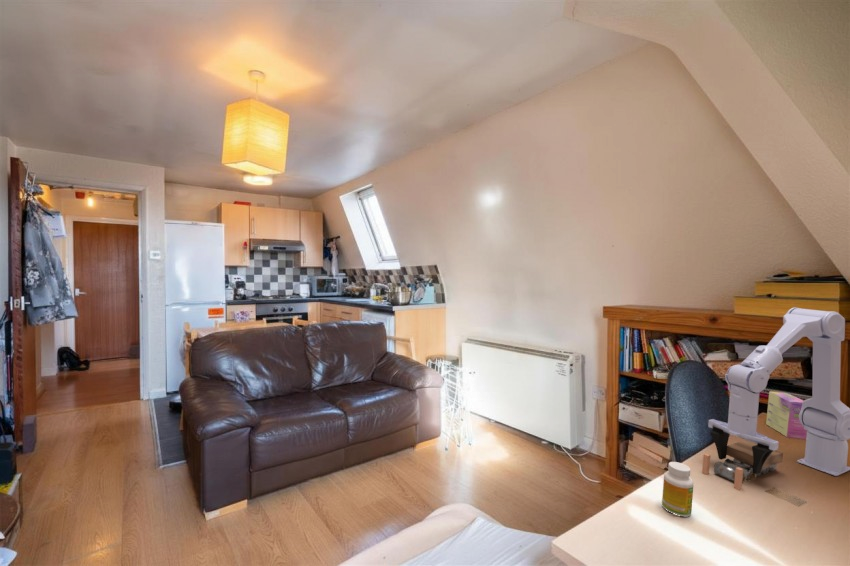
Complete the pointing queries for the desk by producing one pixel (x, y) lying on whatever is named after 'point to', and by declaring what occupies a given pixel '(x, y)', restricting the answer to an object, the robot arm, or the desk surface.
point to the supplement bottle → (678, 489)
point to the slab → (751, 453)
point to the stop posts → (737, 472)
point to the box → (785, 415)
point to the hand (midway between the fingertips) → (738, 465)
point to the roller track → (729, 474)
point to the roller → (746, 470)
